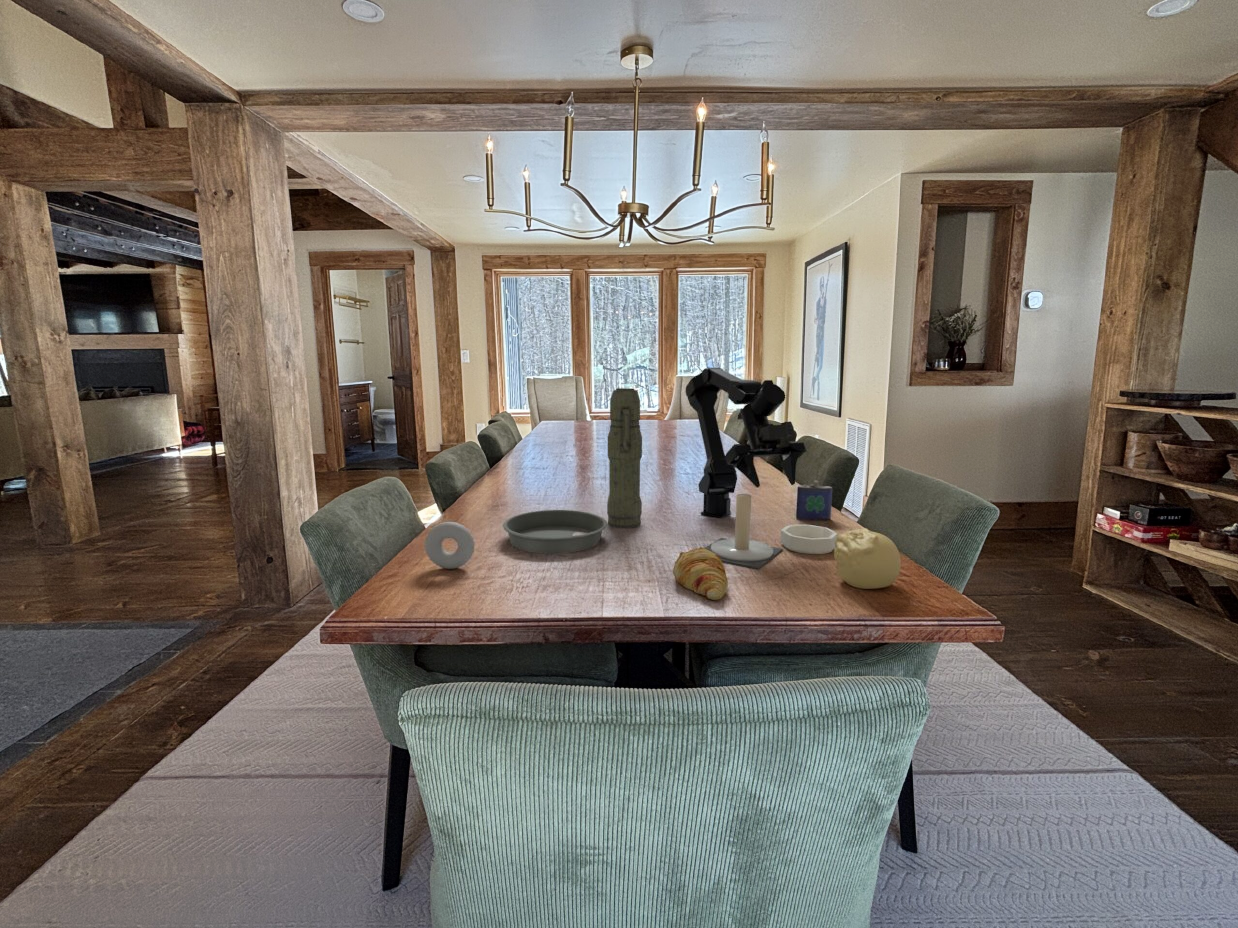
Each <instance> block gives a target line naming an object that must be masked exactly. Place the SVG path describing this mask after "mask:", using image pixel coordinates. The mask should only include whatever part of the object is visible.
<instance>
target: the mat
mask: <svg viewBox="0 0 1238 928" xmlns="http://www.w3.org/2000/svg"><path fill="white" fill-rule="evenodd" d="M726 539H727V538H724V537H720V538H718V539H717V540H715V541H713V542H712V543H710V544H708V545H707V546H705V547H702V548H703V549H706V550H708V551H711V545H712V544H713V543H714V542H717V541H720V540H726ZM771 547H772V548H773V555H772V557H770V558H768V559H765V560H761V561H734V560H728V559H724V558H721V557H720V558H721V560H722V561H721V562H722V563H723V564H724V563H725V564H730V565H733V566H734V565H736V566H739V567H745V568H748V569H749V568H751V569H755V570H760V569H761V568H763V567H764V566H766V565H767V564H768V563H769V562H770V561H771V560H772V559H774V558H775V557H776V556H777V555H779V554H780V553H782V552H783V551H784V550H783V548H781V547H775V546H771Z"/></svg>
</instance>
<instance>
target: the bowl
mask: <svg viewBox="0 0 1238 928" xmlns="http://www.w3.org/2000/svg"><path fill="white" fill-rule="evenodd" d="M838 535H839V534H838V532H836V531H835V530H833V529H831V528H828V527H826V526H825V527H824V526H821V525H820V526H817V525H814V524H813V525H811V524H805V523H804V524H790V525H786V526H785V527H783V528H782V529H781V530H780V541H779V542H780V543H781V544H782V545H783V547H784V548H785V549H787V550H789V551H792V552H795V553H799V554H805V555H825V554H829V553H831V552H834V549H835V539H836V537H837V536H838Z"/></svg>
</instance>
